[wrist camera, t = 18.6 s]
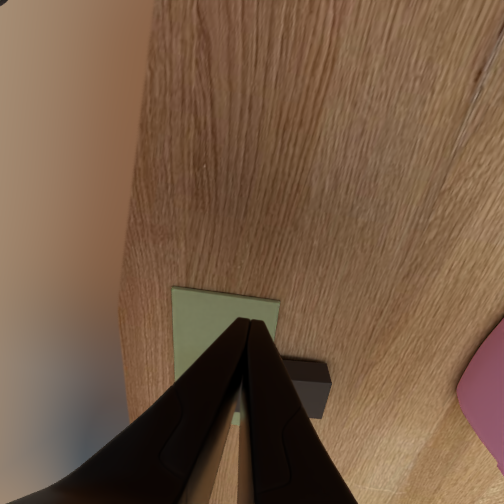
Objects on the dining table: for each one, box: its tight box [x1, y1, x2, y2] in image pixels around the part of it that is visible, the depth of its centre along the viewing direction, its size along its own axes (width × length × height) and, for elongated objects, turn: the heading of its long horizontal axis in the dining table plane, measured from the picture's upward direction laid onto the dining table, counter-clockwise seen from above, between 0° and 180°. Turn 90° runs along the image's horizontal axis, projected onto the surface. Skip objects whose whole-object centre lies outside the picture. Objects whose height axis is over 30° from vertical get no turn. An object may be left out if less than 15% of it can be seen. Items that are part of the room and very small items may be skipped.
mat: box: [171, 286, 280, 425], centre depth 27 cm, size 16×9×1 cm, turn 175°
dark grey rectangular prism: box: [235, 360, 332, 419], centre depth 26 cm, size 2×4×10 cm
